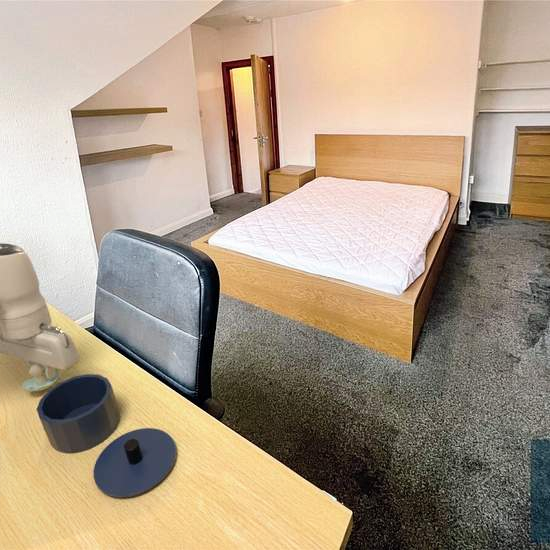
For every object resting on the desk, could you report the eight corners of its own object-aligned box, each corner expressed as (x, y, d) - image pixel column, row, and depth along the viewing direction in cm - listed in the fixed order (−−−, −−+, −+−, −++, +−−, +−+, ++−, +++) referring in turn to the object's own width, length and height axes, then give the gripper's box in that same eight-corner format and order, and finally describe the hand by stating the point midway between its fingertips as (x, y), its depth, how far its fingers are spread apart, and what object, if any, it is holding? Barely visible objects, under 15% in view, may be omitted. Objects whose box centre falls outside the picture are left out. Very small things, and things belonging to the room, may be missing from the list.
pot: (42, 461, 72) (28, 430, 69) (57, 410, 83) (46, 382, 80) (117, 443, 75) (107, 412, 71) (122, 396, 86) (113, 368, 82)
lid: (89, 510, 63) (81, 490, 61) (100, 442, 75) (93, 424, 73) (178, 486, 66) (173, 467, 64) (175, 424, 78) (170, 406, 76)
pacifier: (23, 385, 90) (26, 399, 85) (13, 362, 87) (16, 375, 83) (58, 371, 94) (64, 384, 89) (50, 348, 91) (55, 360, 87)
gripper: (76, 320, 81) (93, 375, 87) (5, 305, 89) (24, 357, 95) (50, 338, 76) (70, 395, 82) (-24, 320, 83) (-1, 374, 89)
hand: (45, 374), depth 88 cm, fingers closed on pacifier
